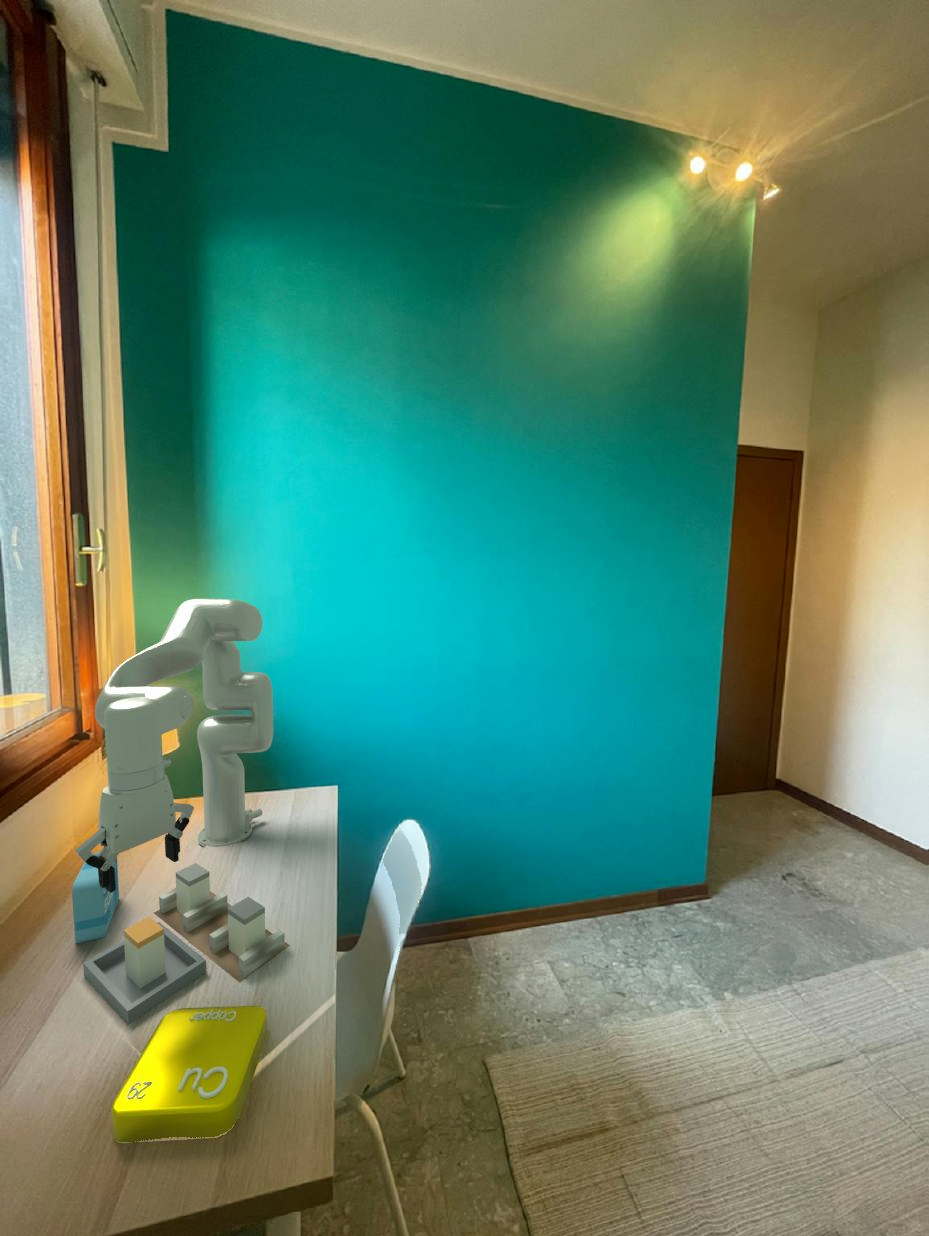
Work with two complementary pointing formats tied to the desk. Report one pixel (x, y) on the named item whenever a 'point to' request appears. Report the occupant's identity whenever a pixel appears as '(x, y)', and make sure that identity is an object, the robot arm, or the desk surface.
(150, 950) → the block
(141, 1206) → the desk surface
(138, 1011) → the tray
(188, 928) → the fuse board
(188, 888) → the block
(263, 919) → the block
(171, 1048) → the element tile
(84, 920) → the data package
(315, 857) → the desk surface
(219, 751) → the robot arm
